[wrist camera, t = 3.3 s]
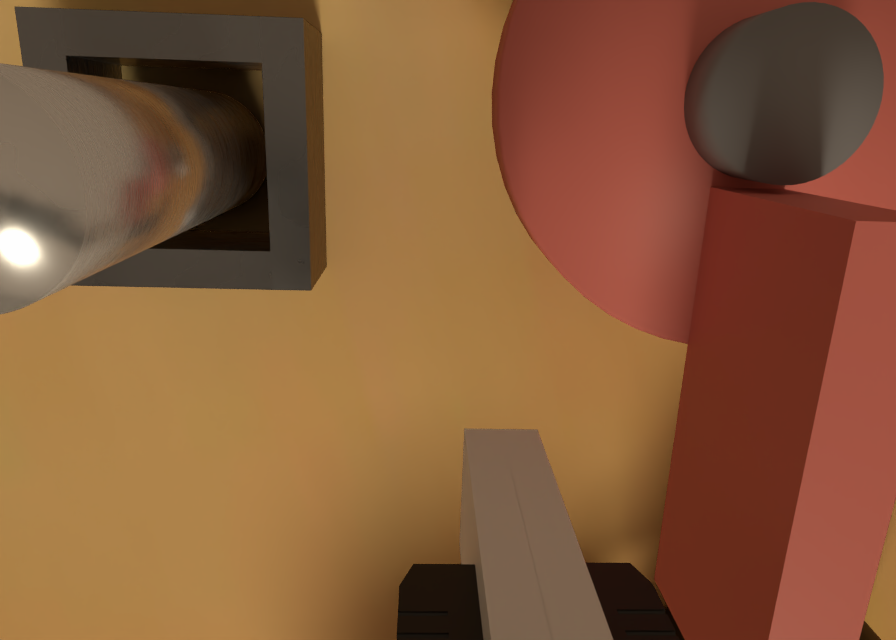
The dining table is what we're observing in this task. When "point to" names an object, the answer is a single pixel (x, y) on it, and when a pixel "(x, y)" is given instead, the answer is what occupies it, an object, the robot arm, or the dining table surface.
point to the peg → (110, 172)
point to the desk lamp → (732, 272)
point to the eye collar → (286, 134)
